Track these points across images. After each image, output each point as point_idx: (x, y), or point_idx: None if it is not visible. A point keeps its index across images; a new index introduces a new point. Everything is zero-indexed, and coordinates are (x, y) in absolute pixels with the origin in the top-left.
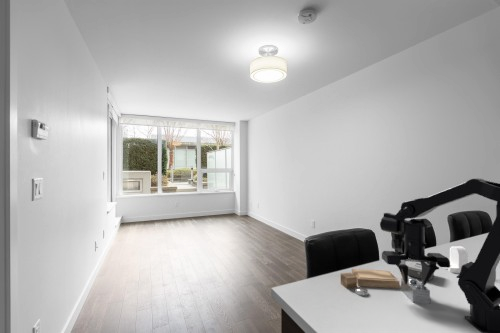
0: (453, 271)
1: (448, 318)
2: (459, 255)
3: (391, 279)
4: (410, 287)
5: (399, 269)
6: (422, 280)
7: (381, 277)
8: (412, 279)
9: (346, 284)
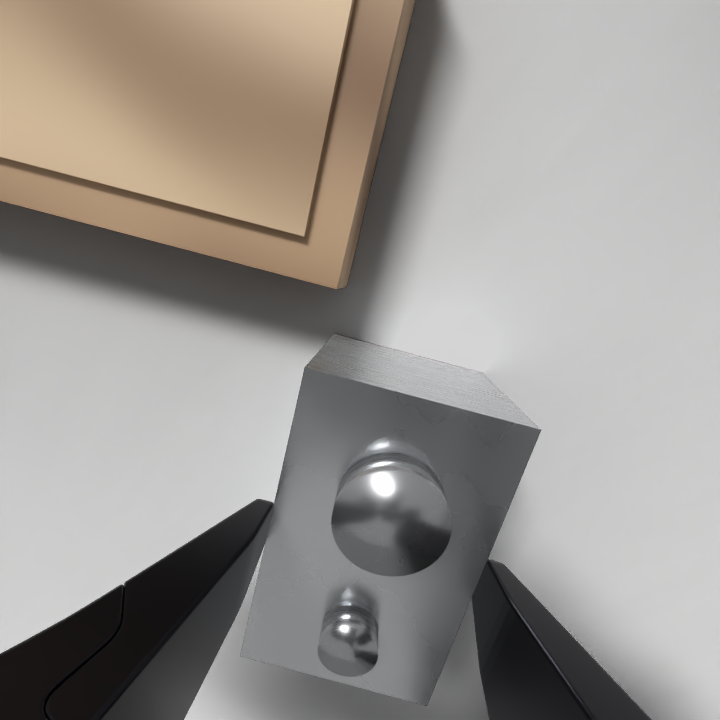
0: None
1: (391, 706)
2: None
3: (253, 223)
4: (250, 611)
5: (20, 660)
6: (498, 624)
7: (132, 141)
8: (391, 526)
9: None
